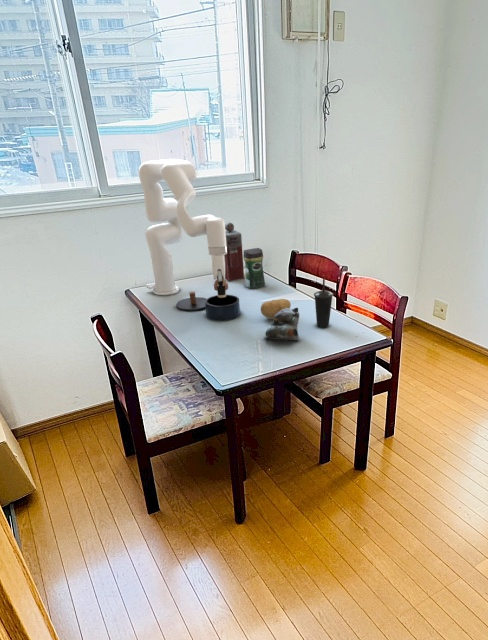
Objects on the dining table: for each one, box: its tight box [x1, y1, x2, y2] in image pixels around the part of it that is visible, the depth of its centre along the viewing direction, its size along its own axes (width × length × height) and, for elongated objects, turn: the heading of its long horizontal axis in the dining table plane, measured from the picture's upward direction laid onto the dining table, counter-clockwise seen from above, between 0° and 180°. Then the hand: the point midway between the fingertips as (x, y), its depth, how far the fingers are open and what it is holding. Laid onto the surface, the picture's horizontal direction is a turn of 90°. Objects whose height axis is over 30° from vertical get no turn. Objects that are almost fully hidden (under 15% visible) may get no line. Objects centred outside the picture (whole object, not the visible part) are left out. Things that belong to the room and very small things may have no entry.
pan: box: [205, 294, 241, 322], centre depth 216 cm, size 15×15×6 cm
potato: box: [260, 298, 291, 320], centre depth 211 cm, size 10×14×8 cm
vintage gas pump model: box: [224, 221, 245, 282], centre depth 254 cm, size 9×11×28 cm
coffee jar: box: [243, 247, 266, 289], centre depth 245 cm, size 10×8×19 cm
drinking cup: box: [313, 277, 334, 329], centre depth 199 cm, size 8×8×20 cm
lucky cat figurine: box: [263, 307, 300, 342], centre depth 191 cm, size 15×12×14 cm
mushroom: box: [213, 279, 229, 298], centre depth 211 cm, size 6×6×8 cm
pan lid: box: [175, 291, 207, 311], centre depth 226 cm, size 16×16×6 cm
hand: (221, 292), depth 212 cm, fingers closed on mushroom, 6 cm apart
